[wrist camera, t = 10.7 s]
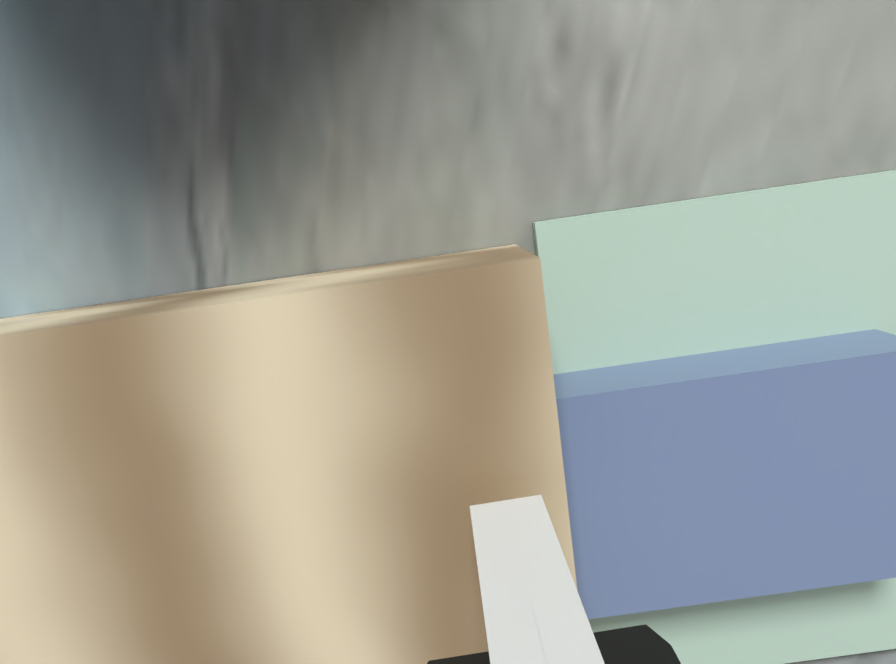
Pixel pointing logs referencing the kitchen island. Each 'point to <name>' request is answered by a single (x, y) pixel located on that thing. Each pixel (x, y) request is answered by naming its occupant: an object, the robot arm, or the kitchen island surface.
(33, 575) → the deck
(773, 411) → the flat periwinkle box
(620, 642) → the robot arm
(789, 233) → the mat
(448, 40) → the kitchen island surface
